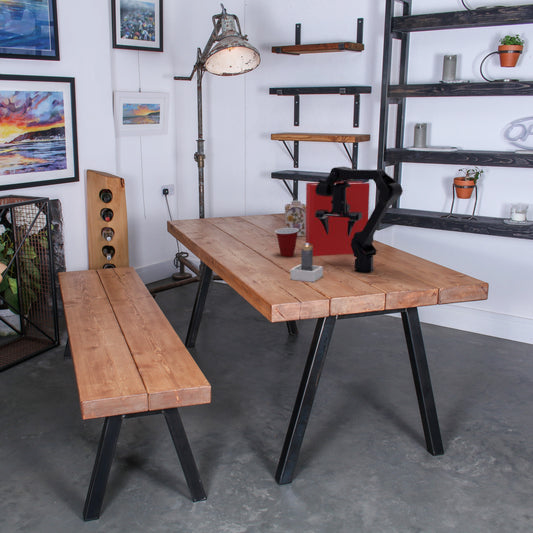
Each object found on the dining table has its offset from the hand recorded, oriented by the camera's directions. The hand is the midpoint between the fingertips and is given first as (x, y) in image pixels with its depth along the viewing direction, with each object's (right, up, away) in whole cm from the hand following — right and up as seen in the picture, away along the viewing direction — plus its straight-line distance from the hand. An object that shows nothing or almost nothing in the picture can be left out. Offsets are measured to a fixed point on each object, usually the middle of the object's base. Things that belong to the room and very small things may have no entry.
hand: (338, 235), depth 256 cm
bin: (-14, -17, -16) cm, 28 cm away
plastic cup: (-21, -8, +22) cm, 31 cm away
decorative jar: (-14, +4, +70) cm, 71 cm away
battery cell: (-14, -17, -16) cm, 27 cm away
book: (+2, -7, +27) cm, 28 cm away
